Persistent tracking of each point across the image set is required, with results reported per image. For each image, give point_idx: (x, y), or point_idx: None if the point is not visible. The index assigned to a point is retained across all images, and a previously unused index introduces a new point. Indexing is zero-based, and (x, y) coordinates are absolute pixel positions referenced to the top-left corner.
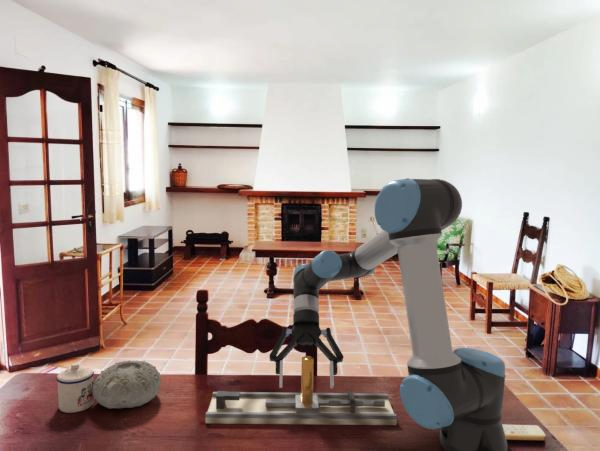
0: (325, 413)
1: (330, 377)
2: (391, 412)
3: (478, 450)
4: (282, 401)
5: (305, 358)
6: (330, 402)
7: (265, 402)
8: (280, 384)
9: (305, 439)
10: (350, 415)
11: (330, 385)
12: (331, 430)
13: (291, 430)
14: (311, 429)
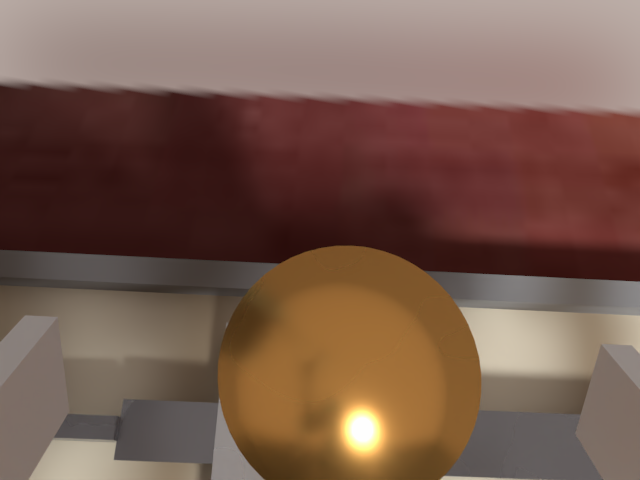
0: (184, 279)
1: (15, 421)
2: None
3: None
4: (516, 435)
5: (400, 371)
6: (109, 416)
7: None
8: (618, 350)
9: (335, 143)
10: (7, 250)
11: (57, 400)
12: (173, 217)
13: (412, 226)
14: (293, 231)
